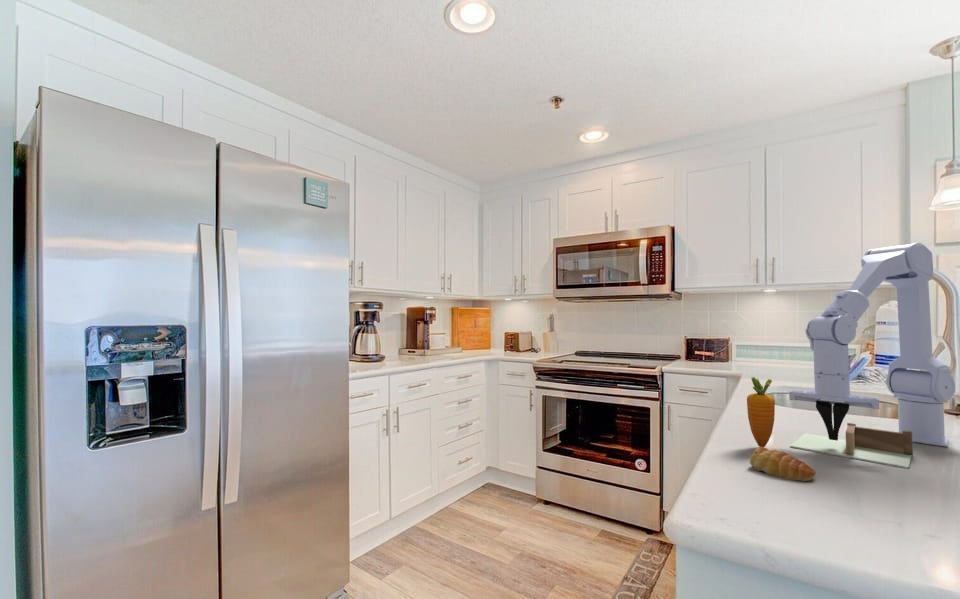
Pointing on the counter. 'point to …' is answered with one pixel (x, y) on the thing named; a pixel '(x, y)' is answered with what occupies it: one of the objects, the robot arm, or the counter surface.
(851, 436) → the hinged panel
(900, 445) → the fence fixed
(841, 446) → the card
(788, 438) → the counter surface
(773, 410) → the carrot
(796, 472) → the pastry
